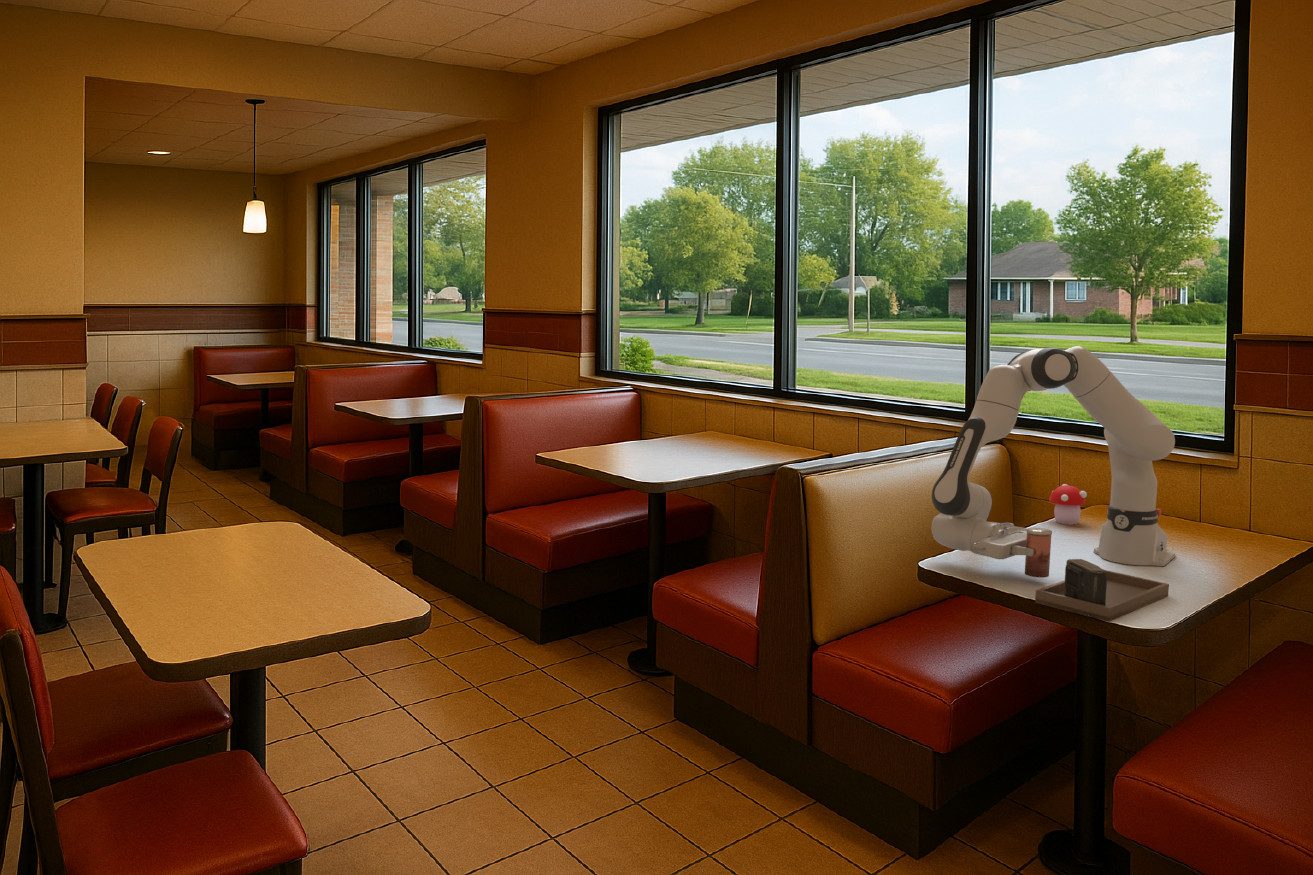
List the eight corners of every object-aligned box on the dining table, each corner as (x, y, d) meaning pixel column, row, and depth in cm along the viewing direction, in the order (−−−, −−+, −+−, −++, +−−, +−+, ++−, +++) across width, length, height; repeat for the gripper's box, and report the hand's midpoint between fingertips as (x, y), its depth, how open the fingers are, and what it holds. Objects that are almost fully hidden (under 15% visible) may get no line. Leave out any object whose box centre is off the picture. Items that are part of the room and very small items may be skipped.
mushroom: (1085, 527, 300) (1088, 489, 298) (1047, 524, 304) (1049, 486, 302) (1083, 520, 310) (1086, 483, 308) (1046, 517, 314) (1049, 480, 312)
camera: (1109, 613, 215) (1111, 569, 214) (1084, 614, 215) (1085, 570, 214) (1083, 598, 227) (1084, 557, 225) (1059, 599, 226) (1060, 558, 225)
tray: (1097, 580, 242) (1098, 568, 242) (1168, 596, 229) (1169, 583, 229) (1035, 602, 223) (1035, 590, 223) (1108, 621, 210) (1109, 608, 210)
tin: (1031, 569, 243) (1034, 526, 241) (1053, 574, 239) (1056, 530, 237) (1019, 573, 239) (1022, 530, 238) (1041, 579, 235) (1044, 534, 233)
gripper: (968, 533, 241) (1019, 544, 230) (1012, 521, 254) (1062, 531, 243) (967, 558, 242) (1018, 570, 231) (1010, 545, 255) (1061, 555, 244)
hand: (1041, 550), depth 237 cm, fingers closed on tin, 6 cm apart
